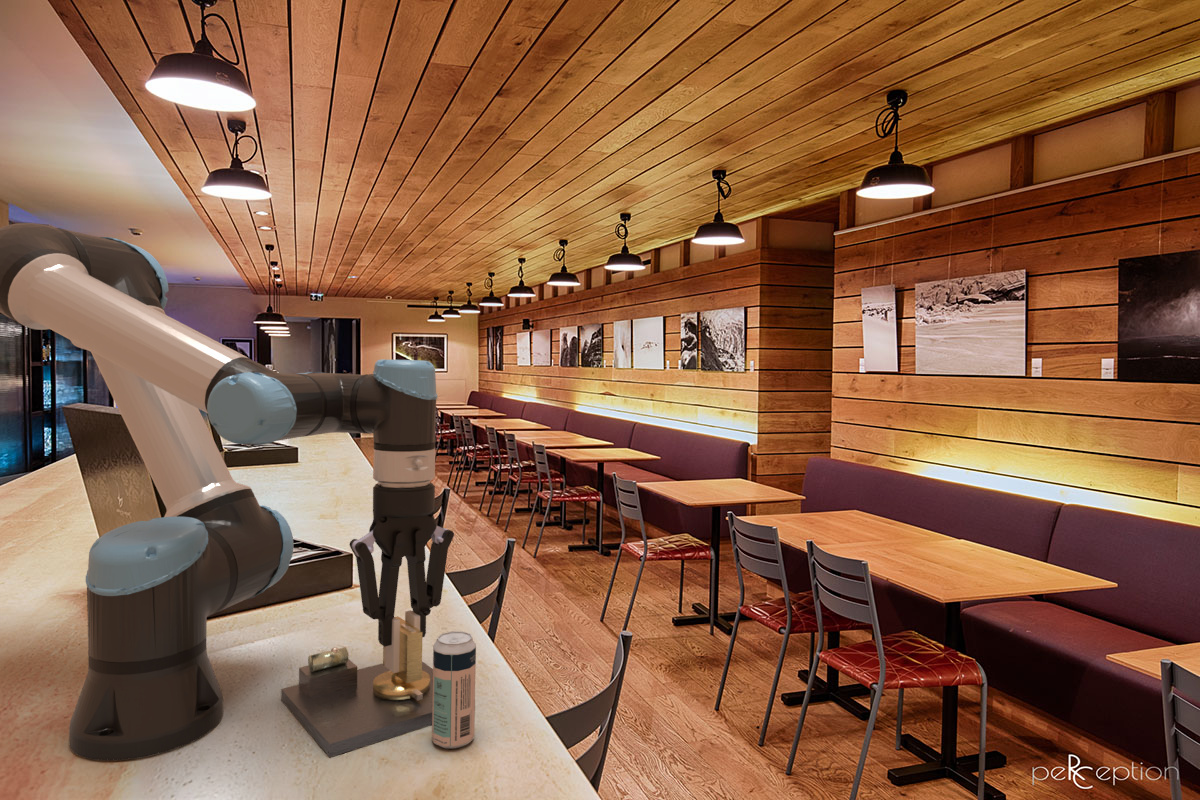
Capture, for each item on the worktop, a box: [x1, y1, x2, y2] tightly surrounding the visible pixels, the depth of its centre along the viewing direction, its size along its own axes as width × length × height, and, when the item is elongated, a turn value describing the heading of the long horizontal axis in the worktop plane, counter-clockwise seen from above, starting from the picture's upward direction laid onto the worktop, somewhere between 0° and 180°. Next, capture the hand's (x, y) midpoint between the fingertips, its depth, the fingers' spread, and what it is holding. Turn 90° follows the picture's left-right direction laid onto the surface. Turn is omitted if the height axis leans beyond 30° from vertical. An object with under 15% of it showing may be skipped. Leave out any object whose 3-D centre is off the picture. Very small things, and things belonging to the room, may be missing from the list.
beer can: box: [431, 630, 477, 750], centre depth 83 cm, size 5×5×12 cm
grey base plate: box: [280, 646, 433, 758], centre depth 92 cm, size 18×17×6 cm
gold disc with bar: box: [373, 616, 430, 701], centre depth 92 cm, size 7×9×8 cm
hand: (401, 665), depth 93 cm, fingers closed on gold disc with bar, 2 cm apart
